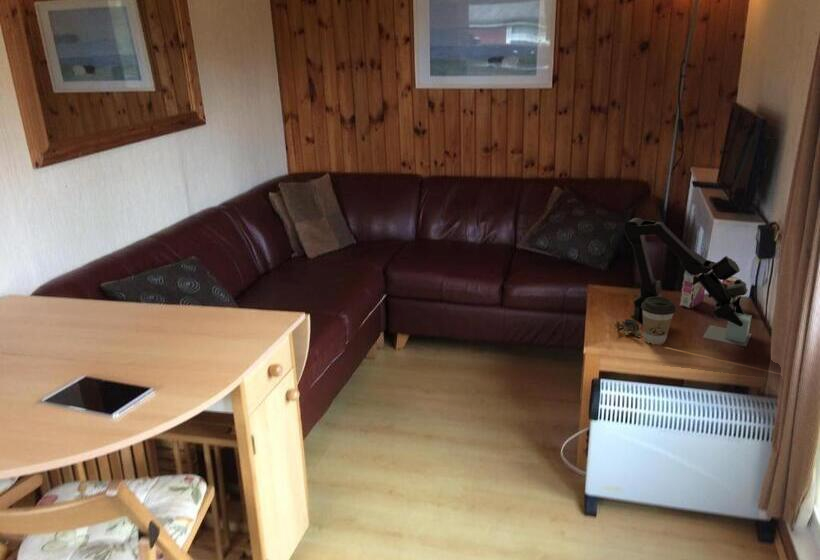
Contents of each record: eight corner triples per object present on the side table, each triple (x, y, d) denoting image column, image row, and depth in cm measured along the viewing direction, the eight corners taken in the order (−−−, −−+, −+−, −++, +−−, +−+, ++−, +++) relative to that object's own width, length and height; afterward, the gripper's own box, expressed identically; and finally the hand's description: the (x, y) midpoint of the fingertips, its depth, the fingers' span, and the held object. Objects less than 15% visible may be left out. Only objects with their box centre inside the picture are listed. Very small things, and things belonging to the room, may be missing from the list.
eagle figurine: (612, 334, 232) (638, 335, 227) (614, 315, 234) (639, 315, 229) (618, 338, 238) (644, 339, 233) (620, 319, 240) (645, 320, 235)
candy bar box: (691, 309, 254) (696, 270, 248) (679, 305, 258) (684, 267, 252) (704, 301, 261) (709, 263, 255) (692, 298, 265) (697, 260, 259)
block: (724, 338, 228) (728, 317, 225) (728, 332, 233) (731, 311, 230) (744, 342, 225) (748, 321, 222) (748, 336, 230) (751, 315, 227)
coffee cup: (640, 347, 225) (645, 307, 220) (634, 333, 236) (638, 294, 230) (674, 348, 224) (680, 308, 218) (667, 333, 234) (671, 295, 229)
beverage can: (737, 310, 252) (742, 281, 248) (720, 309, 253) (725, 280, 249) (733, 304, 258) (738, 276, 254) (716, 303, 259) (721, 275, 255)
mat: (702, 338, 230) (703, 331, 229) (709, 326, 239) (710, 319, 238) (745, 348, 222) (747, 340, 221) (751, 335, 231) (752, 327, 230)
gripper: (728, 283, 216) (760, 320, 214) (739, 267, 230) (768, 301, 228) (700, 300, 223) (730, 336, 221) (712, 283, 237) (740, 317, 235)
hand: (743, 322), depth 226 cm, fingers closed on block, 6 cm apart
